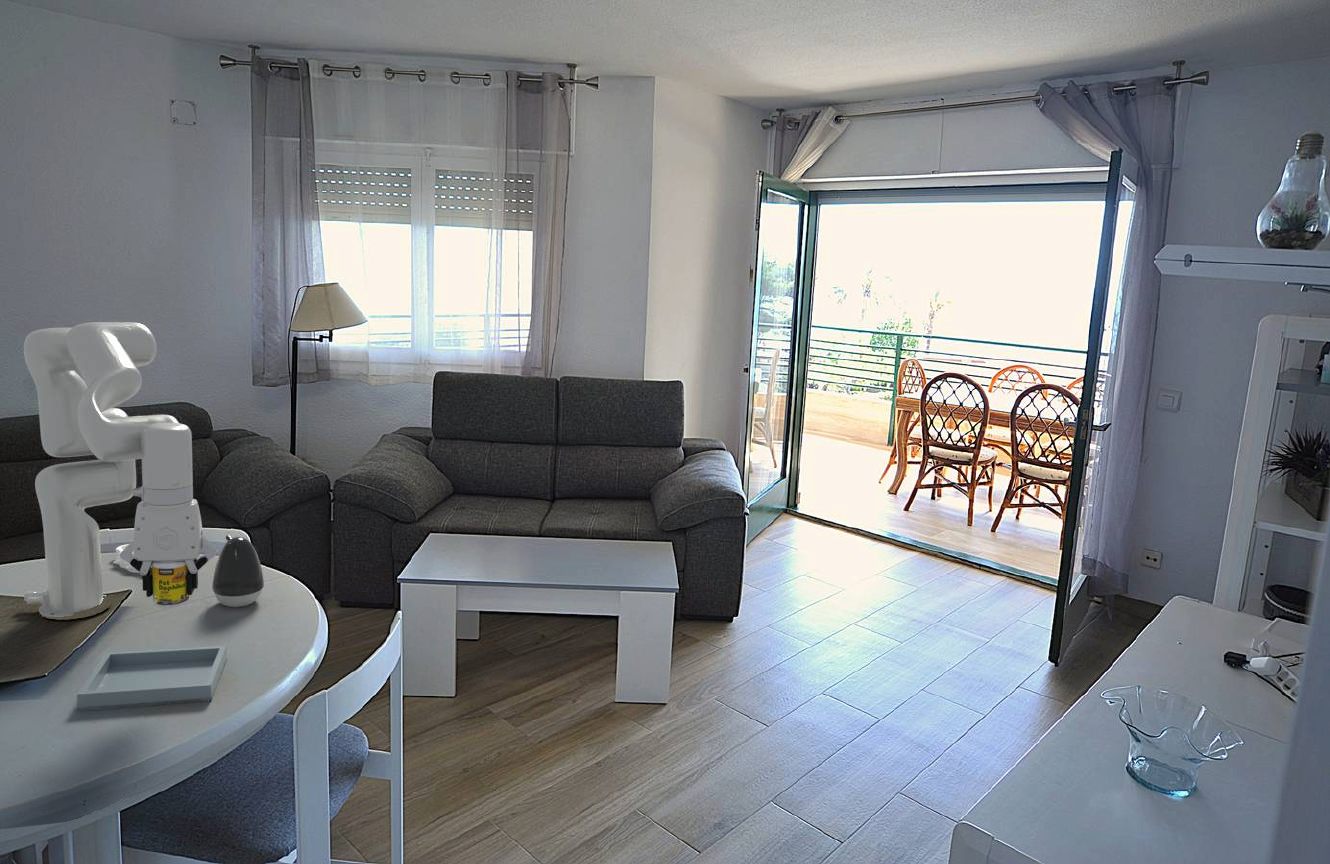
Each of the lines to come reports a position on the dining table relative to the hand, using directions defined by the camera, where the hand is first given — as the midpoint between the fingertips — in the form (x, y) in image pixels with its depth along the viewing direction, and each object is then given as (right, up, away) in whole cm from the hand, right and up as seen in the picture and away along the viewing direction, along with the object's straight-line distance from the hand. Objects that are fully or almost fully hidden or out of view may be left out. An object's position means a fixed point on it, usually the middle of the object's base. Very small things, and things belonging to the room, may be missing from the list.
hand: (170, 592), depth 152 cm
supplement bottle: (0, -2, 0) cm, 2 cm away
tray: (-4, -17, +2) cm, 17 cm away
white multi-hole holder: (-38, -4, +58) cm, 70 cm away
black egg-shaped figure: (-7, -10, +39) cm, 41 cm away
